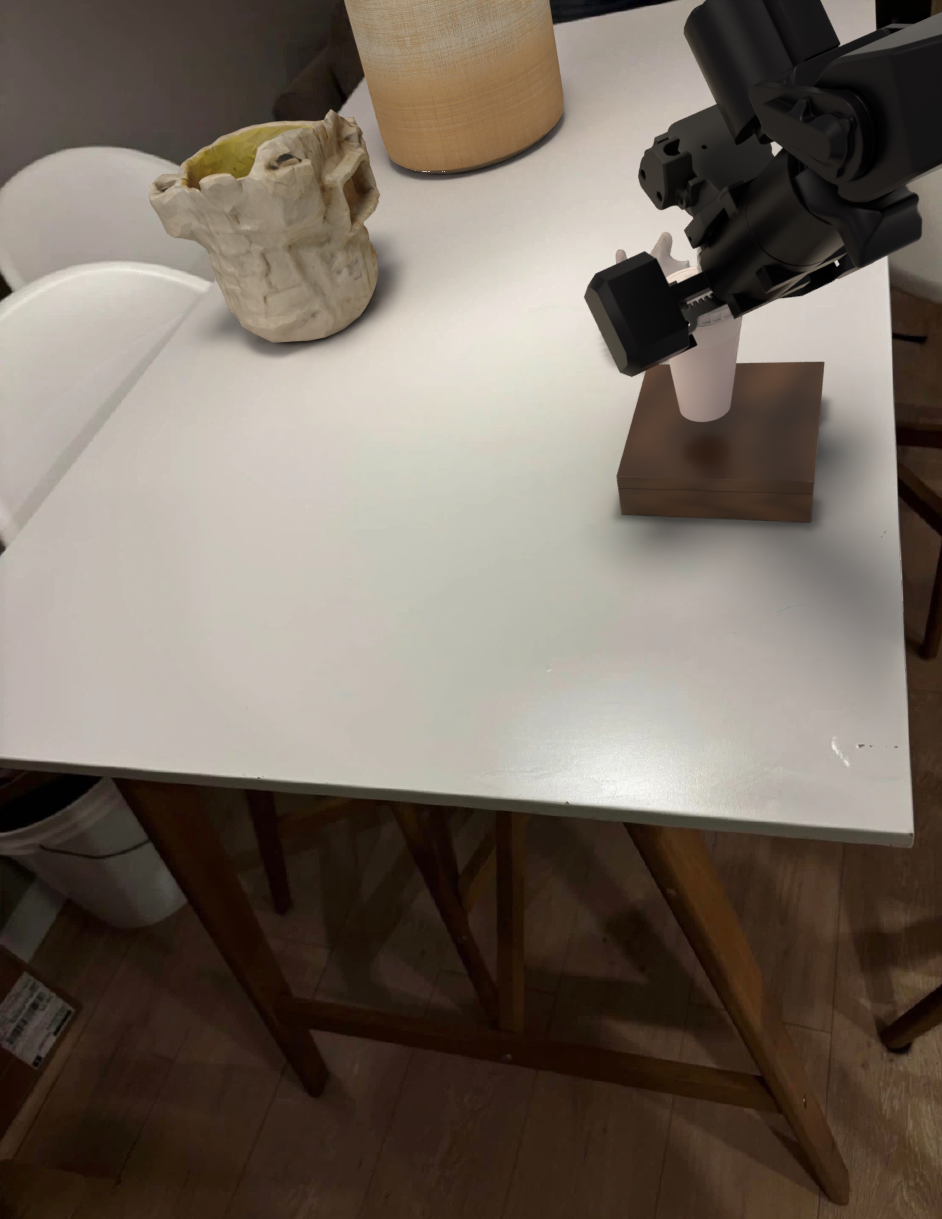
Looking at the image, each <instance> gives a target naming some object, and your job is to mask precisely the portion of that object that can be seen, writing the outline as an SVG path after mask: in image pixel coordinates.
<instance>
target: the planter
mask: <svg viewBox="0 0 942 1219" xmlns="http://www.w3.org/2000/svg"><path fill="white" fill-rule="evenodd" d="M343 1H344V2H343V3H344V6H345V9H346V12H347V17H348V20H349V23H350V26H351V31H352V35H353V38H354V41H355V46H356V48H357V52H358V56H359V59H360V64H361V67H362V70H363V74H364V78H365V81H366V84H367V89H368V92H369V97H370V100H371V104H372V107H373V112H374V115H375V119H376V122H377V126H378V129H379V133H380V137H381V141H382V144H383V147H384V149H385V151H386V154H387V156H388V158H389V159H390V160H391V161H392V162H393V163H395V164H396V165H397V166H399V167H402V168H403V169H407V170H410V171H413V172H416V173H421V174H428V175H429V174H430V175H447V174H456V173H457V174H458V173H464V172H470V171H474V170H478V169H482V168H486V167H488V166H493V165H495V164H498V163H501V162H504V161H507V160H509V159H511V158H513V157H515V156H517V155H519V154H522V153H523V152H525V151H527V150H529V149H530V148H532V147H533V146H534V145H536V144H537V143H539V142H540V141H541V140H543V139H544V138H545V137H546V136H547V135H548V134H549V133H550V131H551V130H552V129H553V128H554V127H555V126H556V124H557V123H558V122H559V121H560V119H561V117H562V116H563V112H564V107H565V101H564V100H565V98H564V97H565V96H564V89H563V88H564V87H563V81H562V74H561V69H560V62H559V55H558V48H557V43H556V37H555V36H556V35H555V30H554V23H553V17H552V10H551V4H550V0H343ZM415 170H416V171H415ZM422 171H427V172H422ZM428 171H430V172H428ZM442 171H443V172H442ZM444 171H445V172H444Z"/></svg>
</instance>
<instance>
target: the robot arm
mask: <svg viewBox="0 0 942 1219" xmlns="http://www.w3.org/2000/svg"><path fill="white" fill-rule="evenodd" d="M683 36H684V38H685V40H686V42H687V44H688V47H689V49H690V51H691V53H692V54H693V57H694V59H695V62H696V63H697V65H698V67H699V70H700V72H701V74H702V77H703V78H704V80H705V82H706V85H707V87H708V89H709V91H710V93H711V96H712V97H713V99H714V102H715V104H713V105H711V106H708V107H706V108H704V109H702V110H699V111H697V112H695V113H693V114H690V115H688V116H686V117H683V118H681V119H679V120H677V121H674V122H673V123H671V125H669V126H668V129H667V131H666V132H664V133H662V134H661V133H660V134H659V135H656V136H655V137H654V139H653V144H652V146H651V147H649V148H647V149H645V150H644V152H643V156H642V158H641V159H640V163H639V168H638V174H637V178H638V183H639V186H640V188H641V189H642V191H643V192H644V193H645V195H646V196H647V198H648V199H649V200H650V201H651V202H652V204H653V205H654V206H655V208H656V209H657V210H658V211H665V210H666V209H669V208H671V207H678V208H679V209H680V210H681V211H685V212H686V213H687V215H689V216H690V217H692V219H691V220H690V222H689V223H688V224H687V226H686V227H685V228H684V229H683V232H684V234H685V236H686V238H687V240H688V242H689V245H690V247H691V249H693V250H696V248H698V247H700V248H701V250H702V251H701V252H700V253H699V254H698V256H697V255H696V261H697V260H698V262H699V264H700V266H701V270H702V272H700V273H698V274H696V275H694V276H692V277H690V278H687V279H685V280H683V281H681V282H679V283H677V281H676V280H675V281H673V282H671V283H668V281H667V279H666V277H665V275H664V273H663V271H662V268H661V266H660V264H659V262H658V260H657V258H654V257H653V256H651V255H650V253H648V252H647V251H645V250H643V251H642V252H639V253H637V254H635V255H633V256H631V257H629V258H628V257H627V259H626V260H624V261H622V262H619V263H617V264H616V263H615V264H613V265H610V266H608V267H606V268H604V269H602V270H600V271H598V272H595V273H594V275H593V276H592V278H591V279H590V281H589V283H588V284H587V286H586V289H585V292H584V295H583V299H584V301H585V303H586V305H587V307H588V309H589V311H590V313H591V316H592V317H593V318H592V319H593V320H594V322H595V324H596V326H597V328H598V330H599V332H600V334H601V336H602V338H603V340H604V343H605V345H606V346H607V349H608V352H609V353H610V355H611V357H612V360H613V361H614V363H615V366H616V368H617V370H618V372H619V373H620V374H622V375H624V376H627V377H630V378H633V377H635V376H637V375H639V374H642V373H643V372H644V373H645V371H646V370H648V369H650V368H652V367H654V366H656V365H659V364H663V363H664V362H667V361H669V359H671V358H673V357H675V356H677V355H679V354H681V353H683V352H685V351H687V350H689V349H692V348H694V347H696V346H697V342H696V340H695V338H694V336H693V334H692V333H693V332H694V331H695V330H696V329H697V326H698V318H701V317H703V316H705V315H707V314H709V313H711V312H713V311H716V310H718V309H720V308H722V307H724V306H726V305H728V307H729V309H730V312H731V314H732V316H733V318H734V319H736V318H738V317H741V316H745V315H747V314H749V313H752V312H753V311H755V310H757V309H759V308H761V307H764V306H766V305H768V304H770V303H772V302H775V301H777V300H780V299H789V298H798V297H803V296H806V295H807V294H810V293H812V292H814V291H816V290H818V289H821V288H823V287H825V286H826V285H829V284H831V283H833V282H835V281H836V280H841V279H842V278H844V277H847V276H848V275H850V274H853V273H855V272H857V271H859V270H861V269H864V268H865V267H869V266H870V265H872V264H874V263H875V262H877V261H880V260H882V259H883V258H886V257H888V256H890V255H892V254H894V253H896V252H898V251H900V250H902V249H904V248H907V247H908V246H910V245H913V244H915V243H917V242H919V241H920V240H921V238H922V237H923V216H922V214H921V211H920V210H919V207H918V206H919V202H920V196H919V194H918V193H917V192H915V191H912V190H910V187H909V185H908V184H911V183H913V182H915V181H917V180H919V179H921V178H924V177H925V176H927V175H930V174H932V173H934V172H936V171H938V170H941V169H942V11H941V12H939V13H936V14H934V15H932V16H929V17H927V18H926V19H923V20H920V21H918V22H915V23H891V24H888V25H886V26H884V27H881V28H878V29H876V30H874V31H872V32H869V33H866V34H864V35H862V36H860V37H858V38H856V39H853V40H851V41H849V42H846V43H844V44H842V45H841V41H840V39H839V36H838V35H837V32H836V31H835V28H834V26H833V24H832V22H831V20H830V18H829V15H828V13H827V10H826V9H825V7H824V5H823V2H822V0H704V1H703V3H702V4H701V3H700V4H698V5H697V6H696V7H694V8H693V9H692V10H691V12H690V13H689V15H688V17H687V18H686V20H685V23H684V26H683ZM772 143H775V144H777V145H779V146H780V147H781V148H780V150H779V151H777V153H776V154H774V153H773V146H772ZM836 261H837V263H838V265H837V264H836ZM710 291H712V292H713V293H711V294H710V295H709V297H710V298H709V297H708V295H706V296H705V297H704V300H703V299H702V298H700V299H699V300H698V302H697V301H696V300H695V301H694V302H693V305H692V304H691V303H689V304H687V302H688V301H690V300H693V299H695V298H697V297H699V296H701V295H703V294H705V293H708V292H710Z"/></svg>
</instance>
